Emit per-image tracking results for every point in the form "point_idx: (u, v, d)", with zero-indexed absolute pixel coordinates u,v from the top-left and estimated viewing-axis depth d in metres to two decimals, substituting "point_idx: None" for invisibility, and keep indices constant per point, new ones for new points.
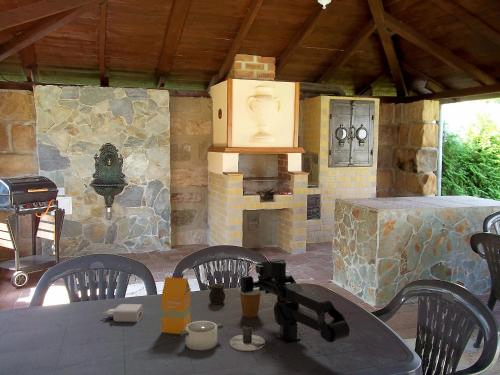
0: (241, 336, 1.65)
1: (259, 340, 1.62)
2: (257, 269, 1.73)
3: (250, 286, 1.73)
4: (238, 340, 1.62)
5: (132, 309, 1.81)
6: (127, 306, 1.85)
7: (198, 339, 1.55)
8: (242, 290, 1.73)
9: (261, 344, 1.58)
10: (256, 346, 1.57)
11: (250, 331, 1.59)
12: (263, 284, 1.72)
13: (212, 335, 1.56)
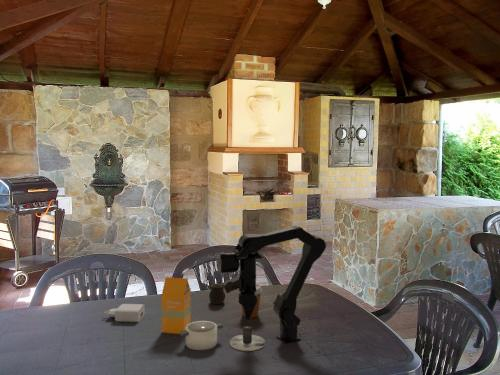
0: (241, 336, 1.65)
1: (259, 340, 1.62)
2: (230, 286, 1.55)
3: (249, 292, 1.52)
4: (238, 340, 1.62)
5: (133, 309, 1.81)
6: (128, 306, 1.85)
7: (198, 339, 1.55)
8: (253, 299, 1.50)
9: (261, 344, 1.58)
10: (256, 346, 1.57)
11: (250, 331, 1.59)
12: (246, 280, 1.56)
13: (212, 335, 1.56)
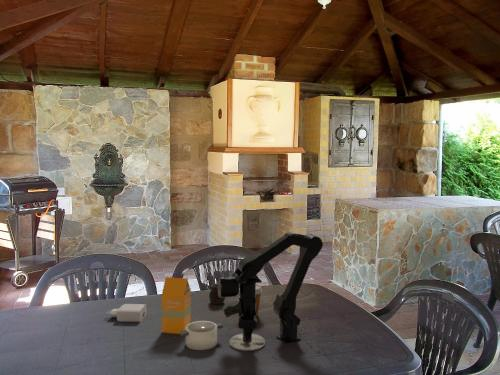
0: (241, 335, 1.65)
1: (259, 339, 1.62)
2: (230, 311, 1.55)
3: (249, 317, 1.53)
4: (238, 339, 1.62)
5: (135, 309, 1.81)
6: (130, 306, 1.85)
7: (198, 339, 1.55)
8: (253, 325, 1.51)
9: (261, 343, 1.58)
10: (256, 345, 1.57)
11: None
12: (246, 304, 1.57)
13: (212, 335, 1.56)
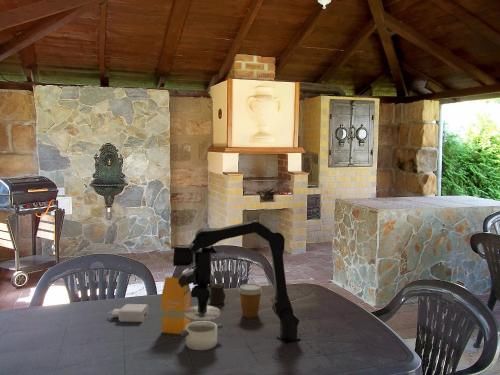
0: (197, 307, 1.64)
1: (214, 310, 1.60)
2: (184, 281, 1.54)
3: (202, 286, 1.52)
4: (193, 310, 1.60)
5: (137, 309, 1.81)
6: (132, 306, 1.85)
7: (198, 339, 1.55)
8: (206, 294, 1.49)
9: (216, 314, 1.57)
10: (210, 315, 1.55)
11: None
12: (200, 274, 1.55)
13: (212, 335, 1.56)
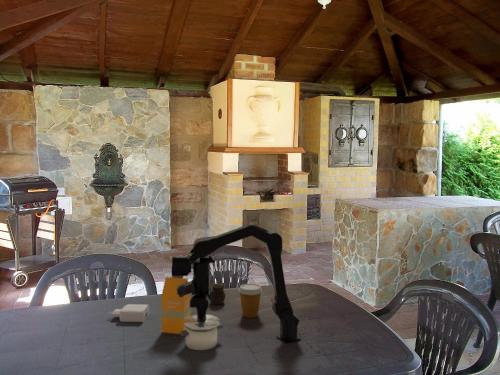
0: (197, 316, 1.64)
1: (214, 319, 1.61)
2: (182, 291, 1.54)
3: (201, 296, 1.52)
4: (192, 319, 1.61)
5: (138, 309, 1.81)
6: (133, 306, 1.84)
7: (198, 339, 1.55)
8: (204, 304, 1.50)
9: (215, 323, 1.57)
10: (209, 325, 1.56)
11: None
12: (199, 284, 1.56)
13: (212, 335, 1.56)
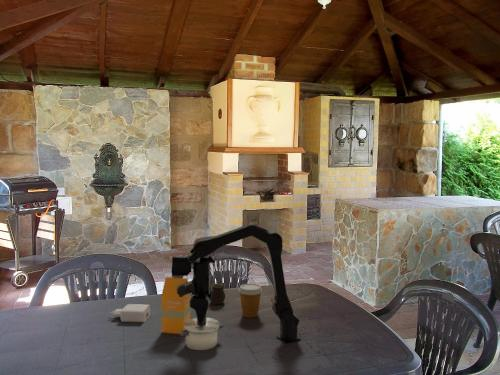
0: (197, 319, 1.64)
1: (214, 323, 1.61)
2: (182, 290, 1.54)
3: (201, 296, 1.52)
4: (192, 322, 1.61)
5: (139, 309, 1.81)
6: (134, 306, 1.85)
7: (198, 339, 1.55)
8: (204, 303, 1.50)
9: (215, 326, 1.58)
10: (209, 328, 1.56)
11: None
12: (199, 284, 1.56)
13: (212, 335, 1.56)
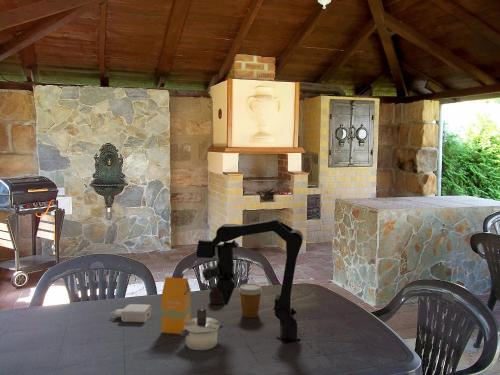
0: (197, 319, 1.64)
1: (214, 323, 1.61)
2: (208, 274, 1.62)
3: (226, 279, 1.60)
4: (192, 322, 1.61)
5: (140, 309, 1.81)
6: (135, 306, 1.84)
7: (198, 339, 1.55)
8: (231, 285, 1.58)
9: (215, 326, 1.58)
10: (209, 328, 1.56)
11: (204, 313, 1.58)
12: (224, 267, 1.64)
13: (212, 335, 1.56)
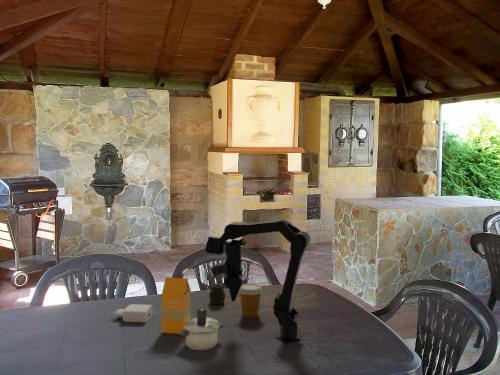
0: (196, 319, 1.64)
1: (214, 322, 1.61)
2: (216, 270, 1.65)
3: (234, 275, 1.63)
4: (192, 322, 1.61)
5: (141, 309, 1.81)
6: (136, 306, 1.84)
7: (198, 339, 1.55)
8: (238, 282, 1.60)
9: (215, 326, 1.58)
10: (209, 328, 1.56)
11: (204, 313, 1.58)
12: (232, 264, 1.67)
13: (212, 335, 1.56)
